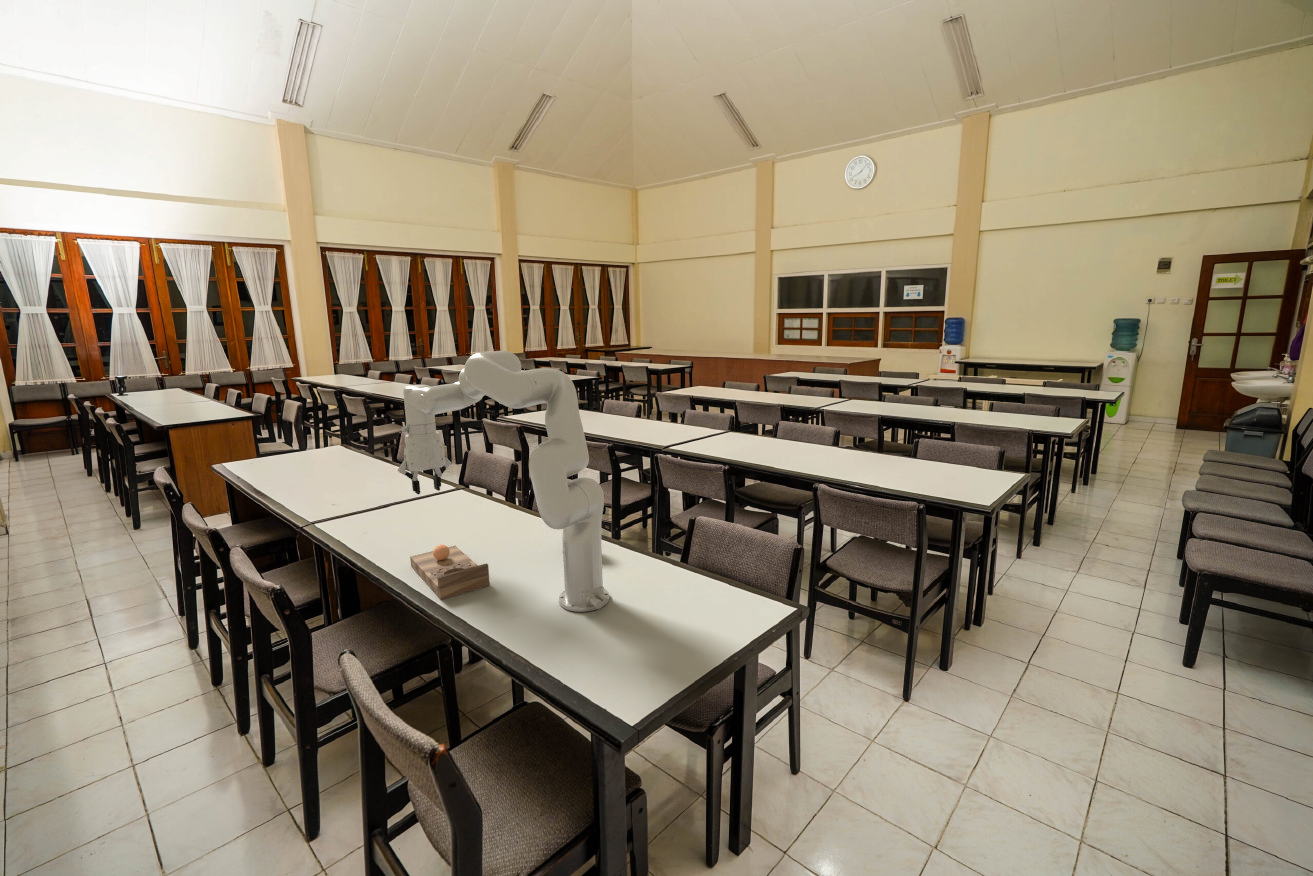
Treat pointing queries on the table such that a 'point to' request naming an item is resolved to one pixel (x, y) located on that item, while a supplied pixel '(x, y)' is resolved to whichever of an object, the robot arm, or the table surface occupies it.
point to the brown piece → (450, 573)
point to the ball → (441, 552)
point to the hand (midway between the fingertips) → (427, 490)
